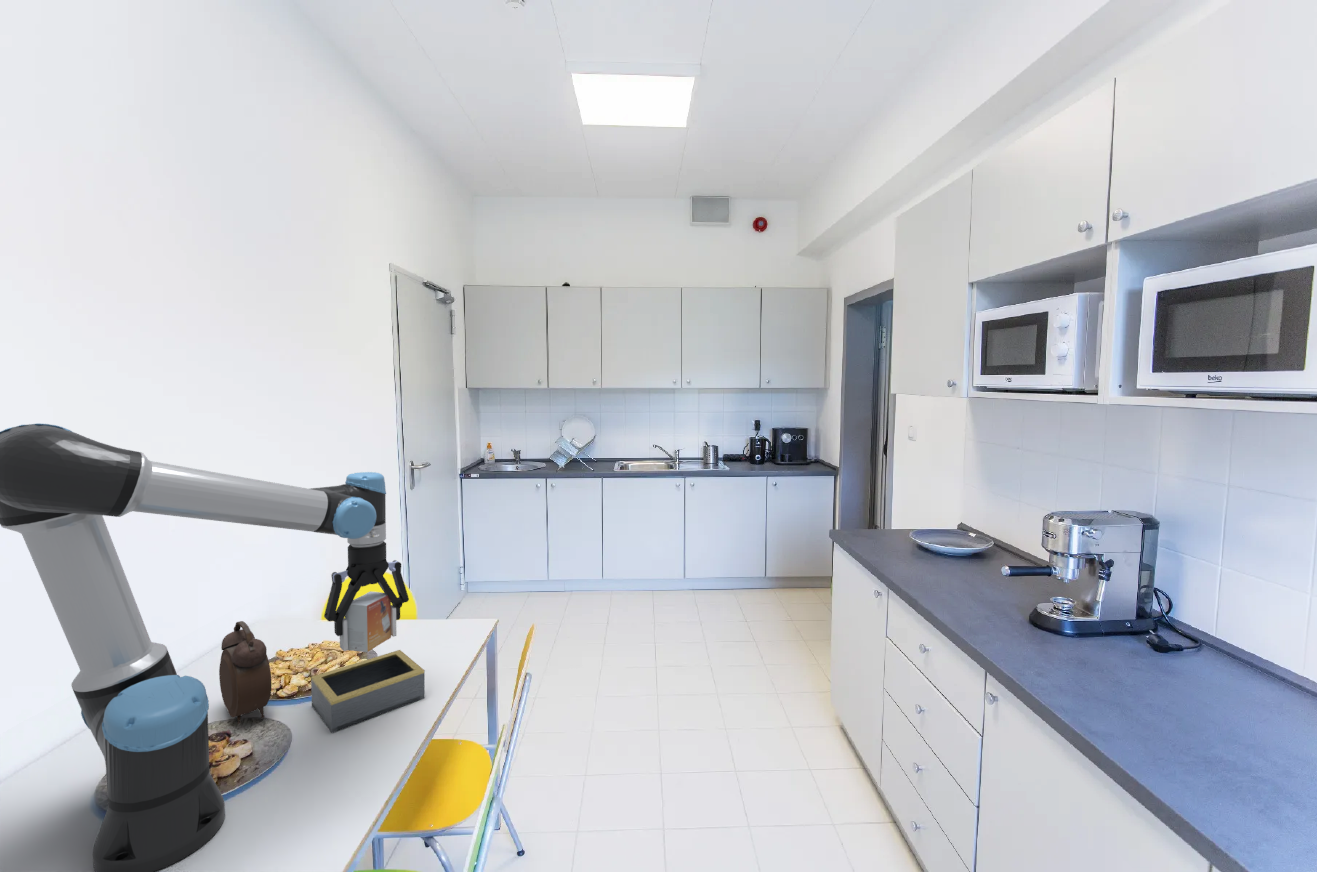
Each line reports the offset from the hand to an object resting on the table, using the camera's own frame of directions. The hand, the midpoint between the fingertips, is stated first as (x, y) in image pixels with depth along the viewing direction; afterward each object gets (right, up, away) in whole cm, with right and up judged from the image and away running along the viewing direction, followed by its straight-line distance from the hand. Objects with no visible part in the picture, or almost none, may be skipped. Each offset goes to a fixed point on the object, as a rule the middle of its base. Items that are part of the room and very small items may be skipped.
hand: (368, 641), depth 123 cm
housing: (0, -14, +1) cm, 14 cm away
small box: (0, -1, 0) cm, 1 cm away
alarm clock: (-24, -14, -5) cm, 28 cm away
